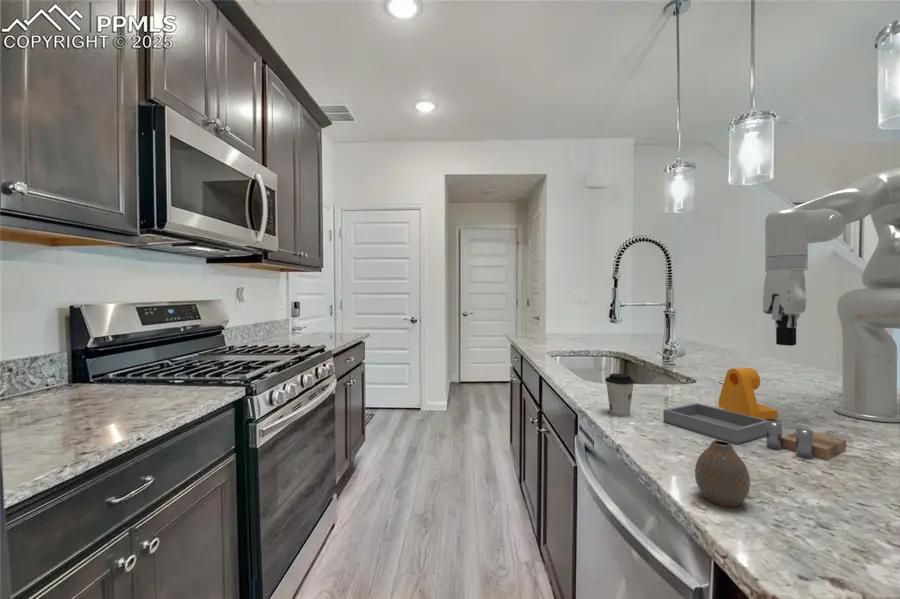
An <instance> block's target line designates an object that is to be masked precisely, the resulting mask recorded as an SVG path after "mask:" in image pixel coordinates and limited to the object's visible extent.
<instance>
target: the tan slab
mask: <svg viewBox="0 0 900 599" xmlns="http://www.w3.org/2000/svg"><path fill="white" fill-rule="evenodd" d="M846 446H847V441H846V439H841V438H839V437H838V438H837V437H834V436H833V437H832V436H829V435H823V434H819V433H816V432H813V458H816V459H820V460H824V461H829V460H832V459H833V458H835V457H837V456H839V455H840V454H842V453H844V452H847V449H846ZM782 449H783V450H785V451H790V452H794V453H796V432H793V433H790V434H787V435H785V436H782ZM782 449H781V450H782Z"/></svg>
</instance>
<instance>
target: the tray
mask: <svg viewBox="0 0 900 599" xmlns="http://www.w3.org/2000/svg"><path fill="white" fill-rule="evenodd" d="M767 421H770V419H761V418H756V417H752V416H748V415H744V414H740V413H736V412H731V411H727V410H725V409H723V408H720V407H715V406H714V407H713V406H710V405H706V404H702V403H697V402H696V403H690V404H685V405H681V406H675V407H671V408H666V409H663V423H664V424H668V425H671V426H676V427H678V428H681V429H683V430H684V429H685V430H688V431H691V432H694V433H698V434H700V435H705V436H708V437H711V438H713V439H716V440H722V441H726V442H729V443H730V444H732V445H733V444H734V445H737V446H738V445H742V444H746V443H748V442H752V441H756V440H758V439H762V438H767Z"/></svg>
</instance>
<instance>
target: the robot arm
mask: <svg viewBox="0 0 900 599" xmlns="http://www.w3.org/2000/svg"><path fill="white" fill-rule="evenodd" d="M868 216H870V218H871V221H872V223H873V227H874V230H875V232H876V234H877V238H878V240H877V241H878V242H877V245H876V247H875V248H874V251H873V253H872V254H871V257H870V258H869V260H868V261H867V263H866V266H865V267H864V269H863V271H862V276H861V282H862V284H863V286H864V287H866V288H857V289H852V290H849V291H846V292H845V293H843V294H842V295H841V296H840V297H839V298H838V300H837V306H836V309H837V313H838V314H837V315H838V318H839V321H840V322H839V323H840V326H841V333H842V390H841V391H842V394H841V395H842V403H838V404H835V405H833V410H834V411H835V412H836V413H839V414H840V415H843V416H848V417H851V418H854V419H859V420H865V421H866V420H867V421H873V422H874V421H875V422H882V423H900V411H898V347H897V343H896V341H895V340H894V338H893V336H891V334H890V333H889V332H888V331H887V330H886V329H896V330H897V329H900V166H899V167H894V168H890V169H884V170H880V171H877V172H873V173H869V174H867V175H865V176H863V177H861V178H859V179H857V180H856V181H854V182H852V183H850V184H848V185H846V186H844V187H842V188H841V189H839V190H836V191H834V192H830V193H828V194H826V195H823V196H820V197H818V198H815V199H812V200H810V201H807V202H805V203H801V204H799V205H796V206H794V207H791V208H789V209H780V210H775V211H772V212H769V213H768V214H767V215H766V217H765V220H764V222H765V224H764V226H765V227H764V229H765V230H764V231H765V232H764V233H765V234H764V237H765V238H764V240H765V241H764V242H765V243H764V244H765V245H764V246H765V247H764V248H765V250H764V251H765V252H764V253H765V255H764V256H765V261H764V265H765V266H764V267H765V268H764V270H765V277H764V283H763V284H764V286H763V294H762V295H763V297H762V311H763V312H762V313H764V314H767V315H771V319H772V321H774V326H775V332H776V333H775V337H776V338H775V341H776V342H775V343H776V345H779V346H788V347H789V346H790V347H793V346H796V345H797V325H798V320H799V318H800V317H801V315H800V314H803V313H804V312H805V311H806V307H807V289H806V277H805V271H808V270H809V268H808V266H809V265H808V264H809V263H808V262H809V254H808V253H809V252H808V251H809V250H808V249H809V248H808V247H809V246H808V245H809V244H816V243H825V242H829V241H833V240H836V239H837V238H838V237H839V236H841V235H842V234H843V233H844V231H845V229H846V225H848V224H852V223H855V222H858V221H861V220H862V219H864V218H866V217H868Z"/></svg>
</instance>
